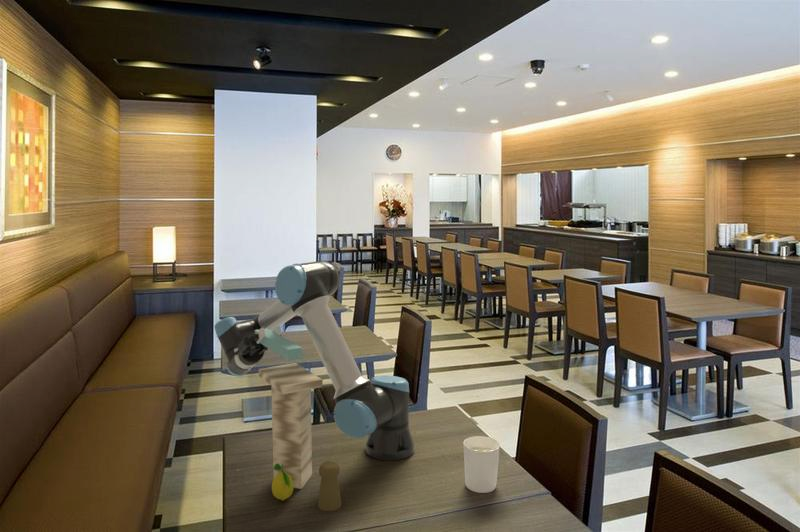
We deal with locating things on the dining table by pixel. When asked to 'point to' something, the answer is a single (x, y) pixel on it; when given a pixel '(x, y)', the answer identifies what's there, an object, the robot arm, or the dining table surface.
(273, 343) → the bar
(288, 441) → the stand
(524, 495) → the dining table surface
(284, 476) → the lemon
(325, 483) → the cork
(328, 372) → the robot arm
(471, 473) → the candle holder
